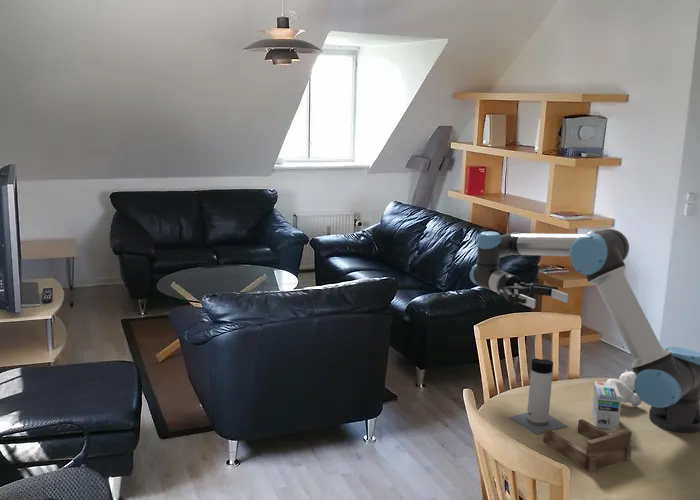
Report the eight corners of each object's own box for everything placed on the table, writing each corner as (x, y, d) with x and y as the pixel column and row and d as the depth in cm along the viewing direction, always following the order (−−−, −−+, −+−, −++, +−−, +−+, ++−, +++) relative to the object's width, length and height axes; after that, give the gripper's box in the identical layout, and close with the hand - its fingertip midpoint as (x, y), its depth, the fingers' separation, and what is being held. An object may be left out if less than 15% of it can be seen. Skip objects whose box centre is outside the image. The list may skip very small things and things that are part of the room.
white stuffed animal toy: (606, 374, 228) (644, 382, 225) (601, 397, 230) (638, 406, 227) (606, 381, 223) (645, 390, 219) (601, 404, 225) (640, 414, 221)
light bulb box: (618, 430, 209) (622, 397, 206) (595, 428, 210) (598, 394, 207) (613, 414, 219) (616, 382, 216) (590, 412, 220) (594, 380, 218)
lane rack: (542, 442, 201) (545, 416, 199) (580, 431, 208) (583, 406, 206) (591, 472, 185) (594, 444, 183) (630, 459, 192) (633, 432, 190)
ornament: (619, 393, 234) (613, 371, 237) (626, 394, 239) (620, 373, 242) (638, 388, 231) (631, 366, 234) (645, 389, 236) (638, 368, 238)
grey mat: (539, 410, 220) (539, 409, 220) (567, 426, 210) (567, 425, 210) (509, 418, 215) (509, 417, 215) (537, 435, 205) (537, 434, 205)
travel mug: (527, 425, 210) (532, 362, 205) (526, 415, 216) (531, 354, 212) (548, 427, 209) (554, 364, 204) (547, 417, 215) (553, 356, 210)
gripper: (532, 290, 241) (579, 307, 223) (475, 299, 229) (519, 318, 211) (534, 269, 239) (581, 285, 221) (476, 277, 227) (521, 294, 209)
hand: (551, 301), depth 216 cm, fingers open, 13 cm apart
